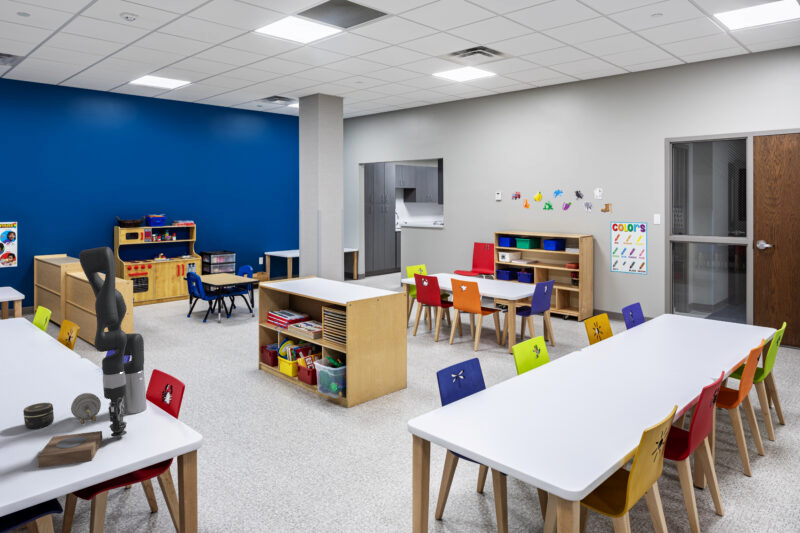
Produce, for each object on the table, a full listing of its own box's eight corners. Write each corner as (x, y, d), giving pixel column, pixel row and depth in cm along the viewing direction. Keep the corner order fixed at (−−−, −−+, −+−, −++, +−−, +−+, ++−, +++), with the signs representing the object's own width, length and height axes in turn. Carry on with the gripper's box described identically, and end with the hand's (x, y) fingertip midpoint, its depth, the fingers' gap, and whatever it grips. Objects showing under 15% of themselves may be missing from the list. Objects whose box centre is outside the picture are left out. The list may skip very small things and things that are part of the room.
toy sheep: (97, 411, 232) (95, 386, 231) (106, 423, 219) (104, 396, 218) (69, 417, 226) (66, 391, 224) (76, 430, 213) (73, 403, 211)
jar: (18, 428, 215) (16, 410, 215) (41, 418, 225) (40, 401, 224) (37, 431, 213) (35, 412, 212) (60, 421, 222) (58, 403, 221)
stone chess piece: (111, 432, 207) (108, 401, 205) (128, 429, 209) (125, 399, 208) (109, 438, 202) (106, 407, 200) (126, 435, 204) (124, 404, 202)
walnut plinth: (53, 447, 198) (52, 435, 198) (102, 441, 203) (101, 430, 202) (38, 467, 183) (37, 455, 183) (91, 460, 188) (90, 448, 187)
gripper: (107, 378, 209) (111, 420, 211) (98, 391, 195) (102, 436, 197) (129, 376, 211) (132, 418, 213) (122, 389, 197) (125, 433, 199)
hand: (118, 426), depth 205 cm, fingers closed on stone chess piece, 6 cm apart
